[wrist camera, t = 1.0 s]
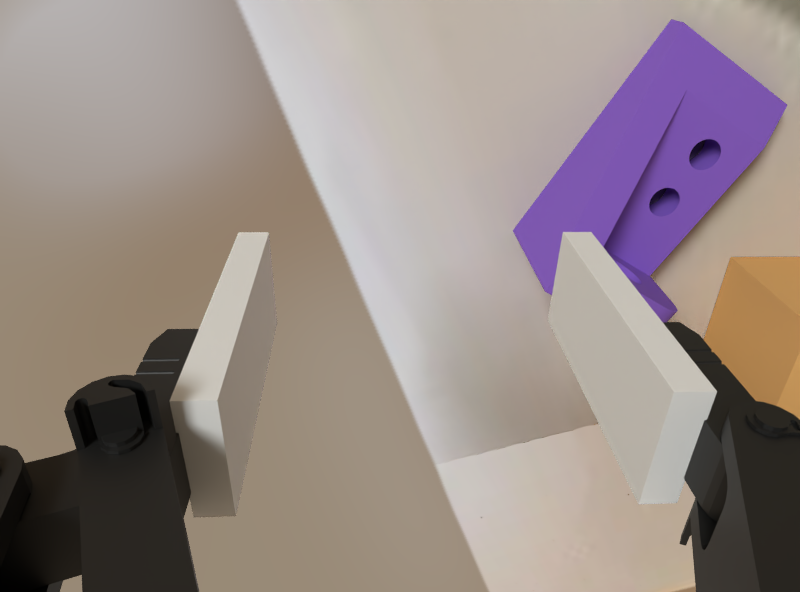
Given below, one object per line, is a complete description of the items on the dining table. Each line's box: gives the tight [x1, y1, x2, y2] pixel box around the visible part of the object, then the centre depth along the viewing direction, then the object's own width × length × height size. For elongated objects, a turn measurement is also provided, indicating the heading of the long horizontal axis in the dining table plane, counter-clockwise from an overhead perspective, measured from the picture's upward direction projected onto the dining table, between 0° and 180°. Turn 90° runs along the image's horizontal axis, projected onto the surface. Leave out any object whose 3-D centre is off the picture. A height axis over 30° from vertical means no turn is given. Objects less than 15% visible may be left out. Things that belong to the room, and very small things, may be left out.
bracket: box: [513, 19, 787, 322], centre depth 29 cm, size 12×7×7 cm, turn 148°
